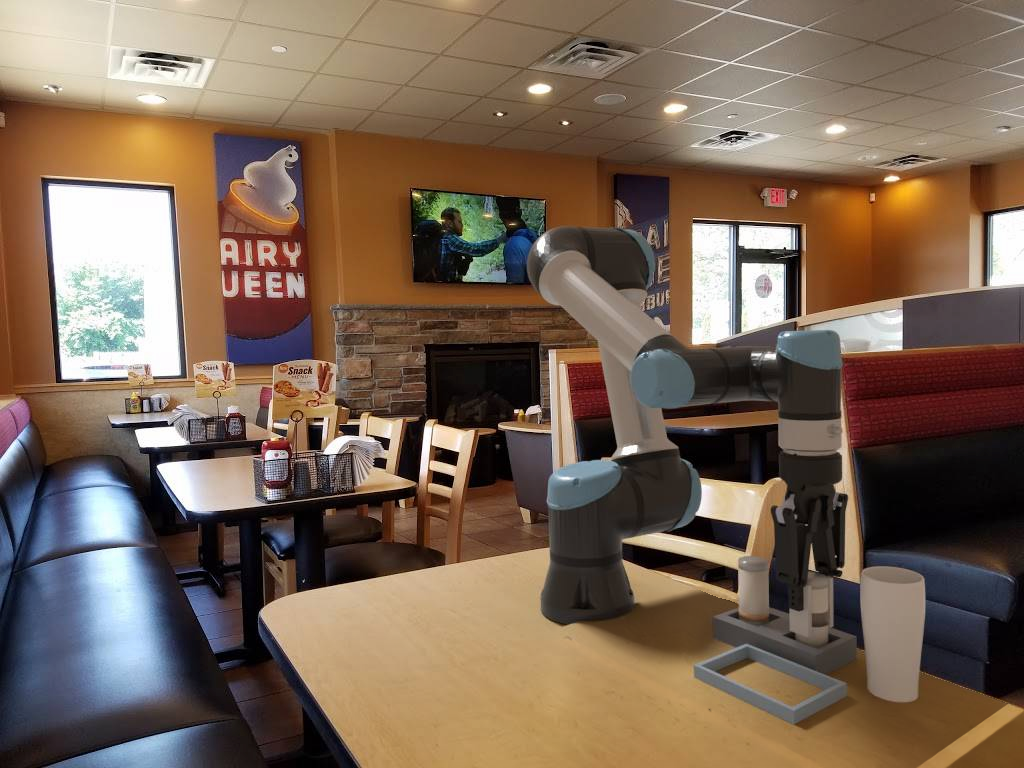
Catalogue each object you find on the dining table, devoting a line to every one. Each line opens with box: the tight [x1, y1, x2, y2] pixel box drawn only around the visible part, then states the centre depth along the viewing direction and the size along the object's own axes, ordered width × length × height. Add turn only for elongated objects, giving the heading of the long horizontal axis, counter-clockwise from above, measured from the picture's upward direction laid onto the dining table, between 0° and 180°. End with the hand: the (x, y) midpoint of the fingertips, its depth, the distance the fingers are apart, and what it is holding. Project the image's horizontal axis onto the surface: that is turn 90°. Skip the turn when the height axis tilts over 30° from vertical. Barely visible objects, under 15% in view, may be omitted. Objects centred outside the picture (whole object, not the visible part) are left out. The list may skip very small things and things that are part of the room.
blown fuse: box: [795, 571, 829, 649], centre depth 95 cm, size 4×4×11 cm
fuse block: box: [712, 606, 858, 675], centre depth 99 cm, size 16×9×4 cm, turn 34°
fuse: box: [737, 555, 770, 627], centre depth 102 cm, size 4×4×11 cm
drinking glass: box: [859, 565, 926, 703], centre depth 86 cm, size 7×7×15 cm
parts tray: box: [693, 644, 848, 725], centre depth 89 cm, size 14×10×2 cm
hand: (811, 628), depth 95 cm, fingers closed on blown fuse, 4 cm apart
